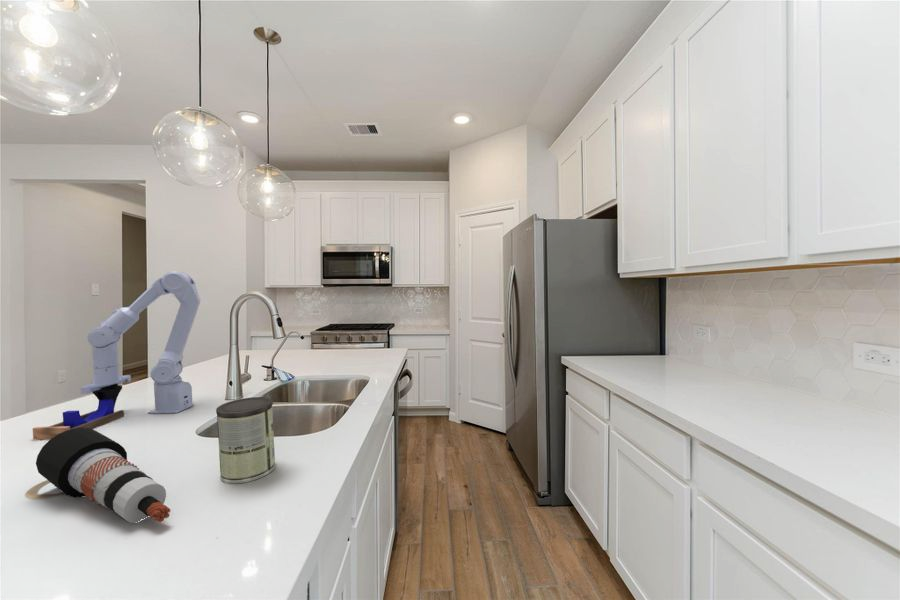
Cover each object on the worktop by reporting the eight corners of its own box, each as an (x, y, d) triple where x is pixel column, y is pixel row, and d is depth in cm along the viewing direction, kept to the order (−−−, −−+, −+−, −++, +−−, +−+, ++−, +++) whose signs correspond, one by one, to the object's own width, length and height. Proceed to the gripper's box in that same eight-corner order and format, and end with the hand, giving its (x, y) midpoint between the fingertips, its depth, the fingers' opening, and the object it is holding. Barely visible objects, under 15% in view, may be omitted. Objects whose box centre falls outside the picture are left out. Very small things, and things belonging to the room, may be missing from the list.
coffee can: (213, 472, 80) (210, 404, 79) (265, 455, 87) (262, 394, 86) (227, 490, 72) (224, 416, 72) (283, 470, 80) (280, 403, 79)
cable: (147, 563, 60) (109, 526, 55) (57, 491, 76) (21, 456, 71) (207, 505, 67) (178, 467, 62) (114, 450, 83) (85, 416, 78)
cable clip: (99, 419, 115) (98, 399, 115) (114, 418, 115) (113, 399, 115) (58, 434, 103) (57, 412, 103) (75, 434, 103) (73, 412, 103)
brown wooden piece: (124, 416, 117) (123, 406, 117) (66, 439, 100) (66, 427, 100) (95, 417, 118) (94, 407, 117) (33, 439, 100) (32, 428, 100)
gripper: (114, 361, 124) (117, 403, 125) (68, 372, 110) (72, 419, 110) (136, 361, 124) (138, 403, 124) (93, 371, 109) (96, 418, 110)
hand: (108, 410), depth 117 cm, fingers closed
